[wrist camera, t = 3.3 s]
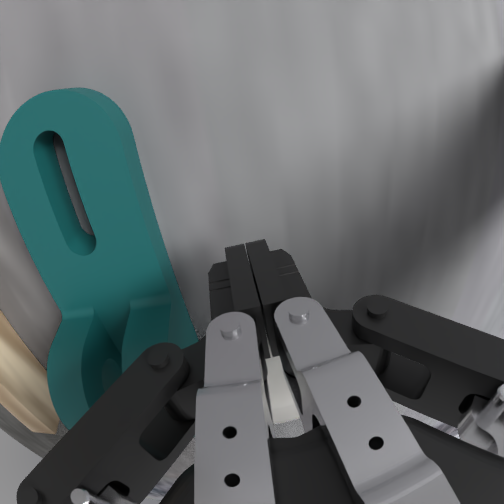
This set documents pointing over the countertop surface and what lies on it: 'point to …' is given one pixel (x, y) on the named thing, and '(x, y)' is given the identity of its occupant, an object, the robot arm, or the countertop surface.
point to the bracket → (91, 243)
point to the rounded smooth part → (279, 392)
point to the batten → (24, 383)
